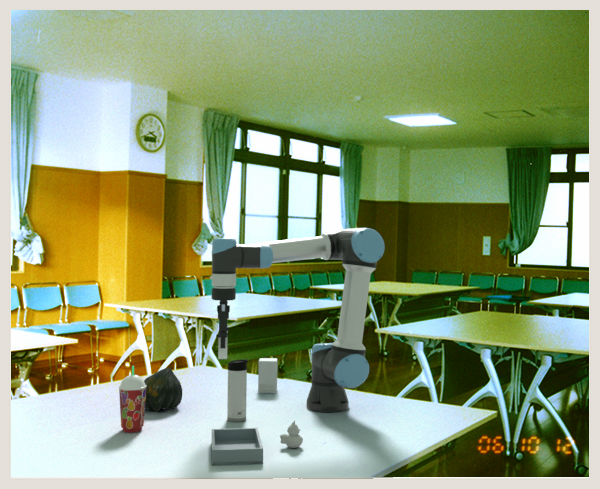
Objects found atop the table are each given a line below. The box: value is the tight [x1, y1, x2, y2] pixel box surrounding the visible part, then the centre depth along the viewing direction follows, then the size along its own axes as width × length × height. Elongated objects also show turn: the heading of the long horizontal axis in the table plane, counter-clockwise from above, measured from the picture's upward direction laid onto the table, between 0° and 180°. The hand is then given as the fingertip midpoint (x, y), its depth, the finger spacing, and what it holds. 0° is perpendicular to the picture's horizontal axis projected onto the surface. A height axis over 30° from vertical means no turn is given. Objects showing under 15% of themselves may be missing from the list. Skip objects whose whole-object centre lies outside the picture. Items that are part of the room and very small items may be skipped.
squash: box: [143, 367, 183, 412], centre depth 228 cm, size 14×15×15 cm
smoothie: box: [118, 365, 147, 434], centre depth 201 cm, size 8×8×20 cm
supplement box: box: [257, 357, 278, 394], centre depth 256 cm, size 7×7×13 cm
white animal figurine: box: [279, 420, 304, 449], centre depth 186 cm, size 5×7×8 cm
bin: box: [211, 427, 264, 466], centre depth 181 cm, size 13×19×4 cm
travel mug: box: [226, 358, 249, 423], centre depth 215 cm, size 6×7×20 cm
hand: (222, 355), depth 203 cm, fingers open, 13 cm apart
